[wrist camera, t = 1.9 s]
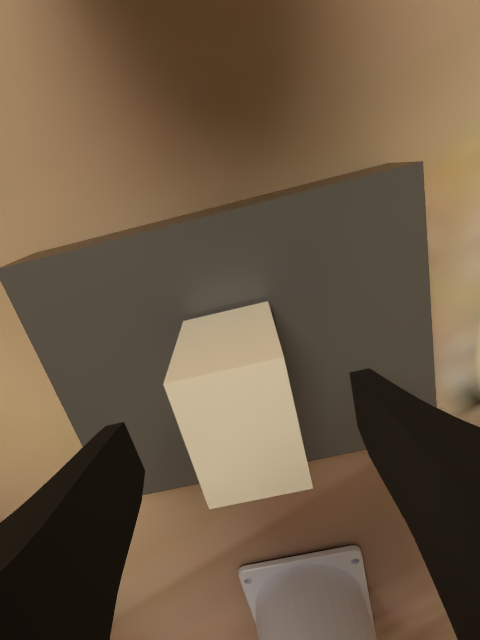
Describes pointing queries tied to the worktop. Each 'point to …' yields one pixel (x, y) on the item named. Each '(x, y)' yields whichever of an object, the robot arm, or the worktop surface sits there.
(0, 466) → the worktop surface
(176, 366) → the plug
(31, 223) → the worktop surface
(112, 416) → the socket block
